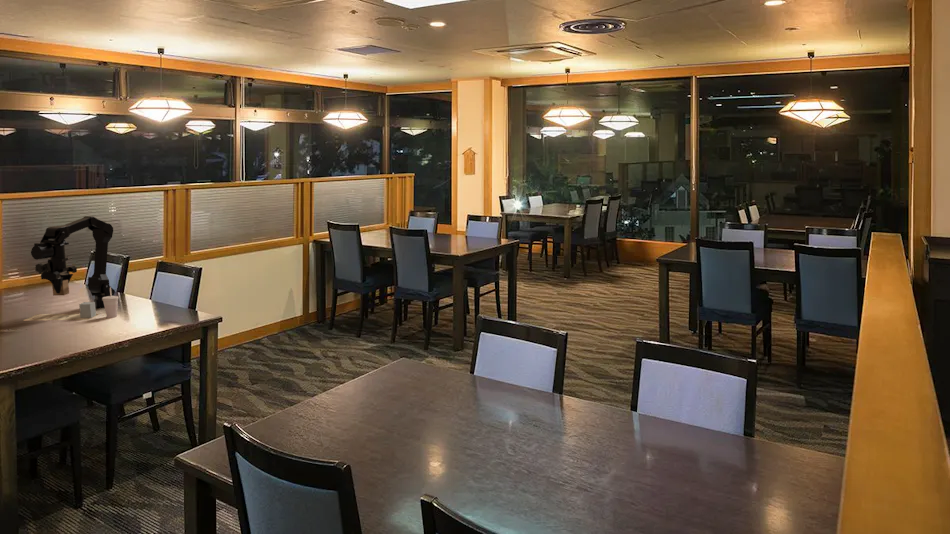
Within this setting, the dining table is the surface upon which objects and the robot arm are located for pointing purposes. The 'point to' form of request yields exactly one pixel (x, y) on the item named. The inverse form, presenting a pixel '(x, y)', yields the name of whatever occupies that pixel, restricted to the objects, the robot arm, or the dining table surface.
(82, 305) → the slate block
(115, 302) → the smoothie
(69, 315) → the board
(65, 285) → the walnut block
